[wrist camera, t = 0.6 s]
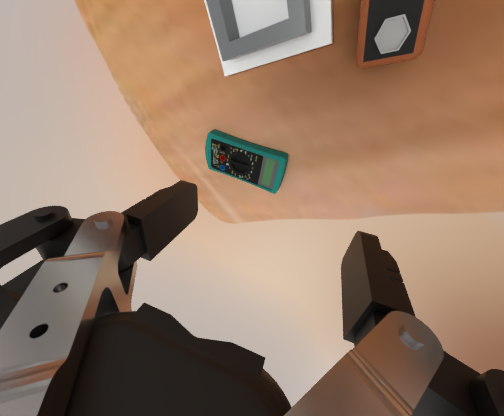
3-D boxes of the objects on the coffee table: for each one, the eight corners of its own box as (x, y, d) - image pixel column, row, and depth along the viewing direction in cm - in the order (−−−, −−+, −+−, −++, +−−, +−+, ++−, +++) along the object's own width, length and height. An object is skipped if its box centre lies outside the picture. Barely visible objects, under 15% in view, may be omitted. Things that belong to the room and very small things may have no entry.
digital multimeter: (212, 126, 36) (202, 132, 34) (291, 152, 33) (285, 160, 31) (212, 162, 41) (203, 169, 39) (280, 188, 38) (275, 196, 36)
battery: (358, 60, 23) (354, 71, 16) (366, -29, 19) (365, -64, 12) (406, 51, 21) (424, 59, 14) (425, -49, 17) (464, -105, 10)
